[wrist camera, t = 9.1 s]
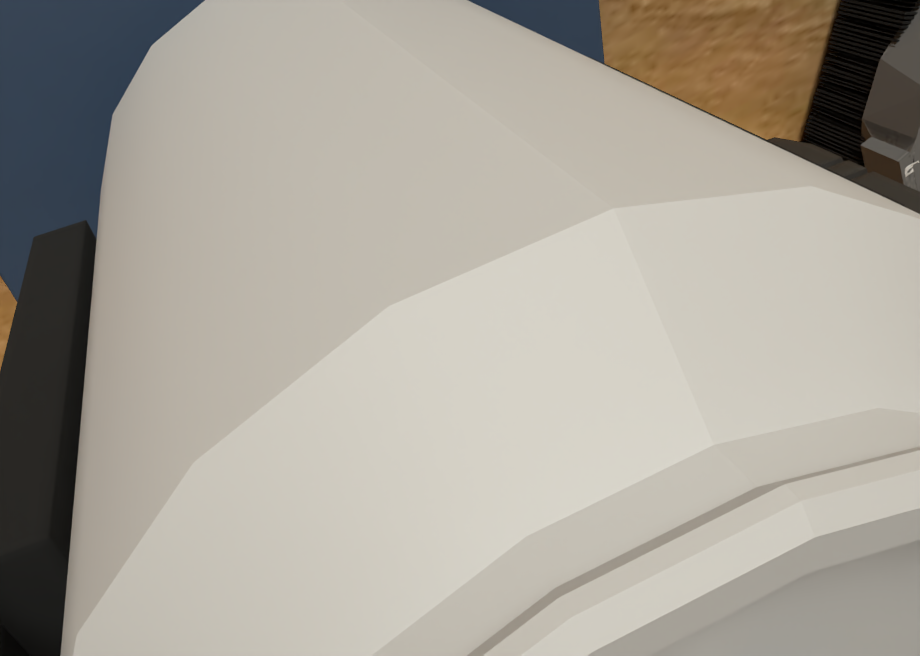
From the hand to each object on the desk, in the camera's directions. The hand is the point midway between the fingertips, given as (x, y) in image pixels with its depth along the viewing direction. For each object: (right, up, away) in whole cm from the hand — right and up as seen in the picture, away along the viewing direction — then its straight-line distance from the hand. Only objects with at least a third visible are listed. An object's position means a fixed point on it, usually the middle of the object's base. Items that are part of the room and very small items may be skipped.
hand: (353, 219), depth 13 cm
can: (-1, +1, +1) cm, 2 cm away
